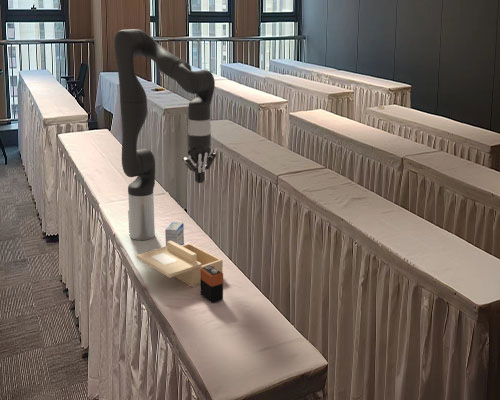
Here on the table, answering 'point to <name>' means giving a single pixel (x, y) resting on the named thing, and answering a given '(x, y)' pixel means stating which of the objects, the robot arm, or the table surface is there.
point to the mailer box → (195, 275)
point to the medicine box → (175, 233)
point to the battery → (211, 284)
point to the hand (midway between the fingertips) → (199, 182)
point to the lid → (171, 259)
